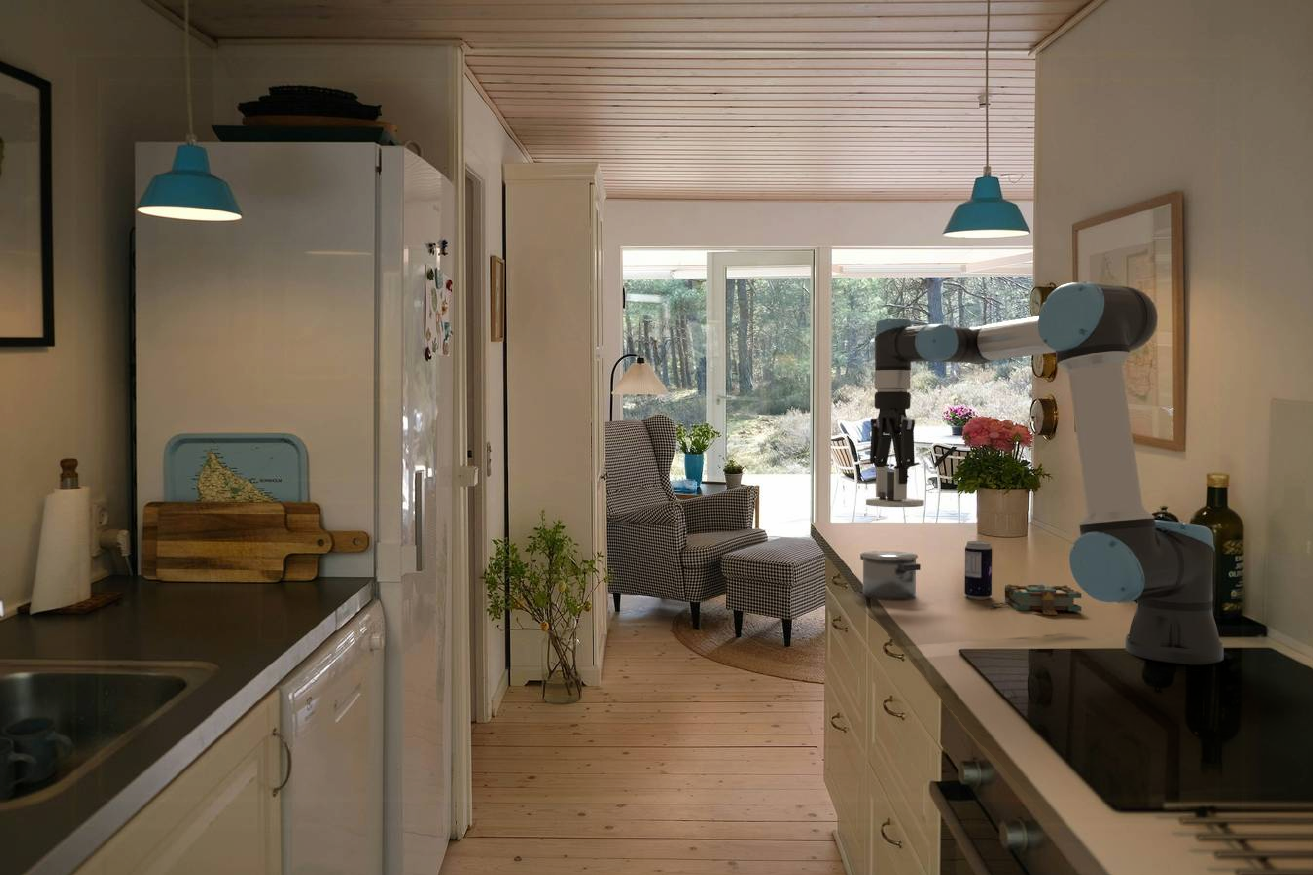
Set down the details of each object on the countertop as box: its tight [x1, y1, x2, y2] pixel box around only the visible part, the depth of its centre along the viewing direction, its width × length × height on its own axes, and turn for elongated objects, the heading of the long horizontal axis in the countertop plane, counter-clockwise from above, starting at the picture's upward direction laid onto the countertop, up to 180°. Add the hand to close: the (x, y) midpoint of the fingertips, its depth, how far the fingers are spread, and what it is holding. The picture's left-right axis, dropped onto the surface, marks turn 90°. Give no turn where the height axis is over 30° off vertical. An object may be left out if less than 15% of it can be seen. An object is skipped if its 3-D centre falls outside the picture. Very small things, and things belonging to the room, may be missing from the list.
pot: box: [859, 550, 922, 602], centre depth 221 cm, size 12×17×9 cm
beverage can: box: [963, 540, 993, 601], centre depth 219 cm, size 6×6×12 cm
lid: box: [865, 471, 925, 508], centre depth 218 cm, size 12×12×7 cm
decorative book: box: [987, 583, 1082, 616], centre depth 209 cm, size 13×18×5 cm
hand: (891, 498), depth 219 cm, fingers closed on lid, 6 cm apart
